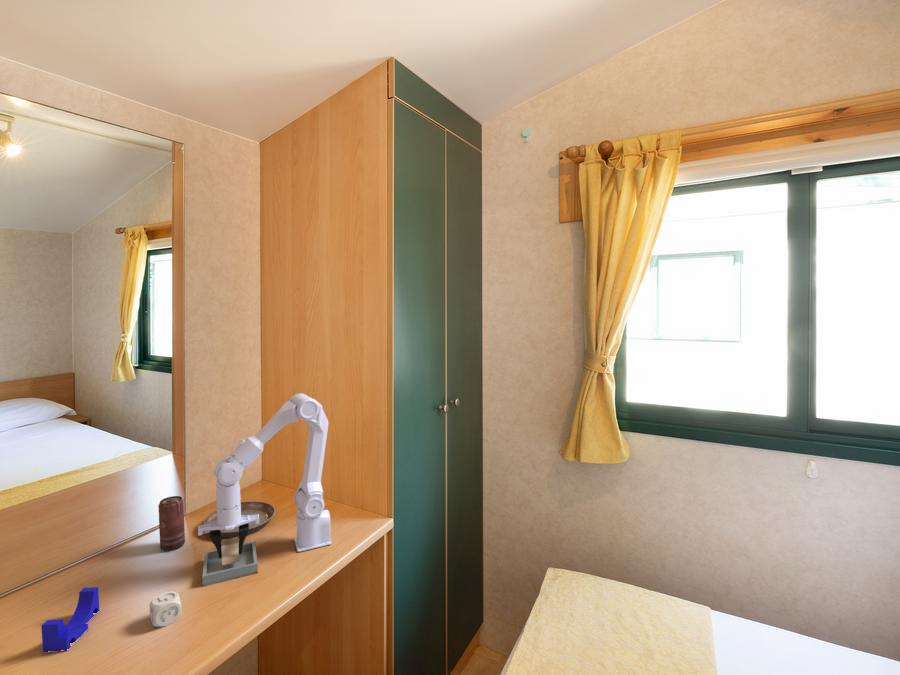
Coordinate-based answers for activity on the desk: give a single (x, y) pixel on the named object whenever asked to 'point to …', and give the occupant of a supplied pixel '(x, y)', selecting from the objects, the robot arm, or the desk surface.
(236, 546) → the block
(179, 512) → the can
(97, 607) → the blue curved piece
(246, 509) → the plant saucer
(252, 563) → the tray
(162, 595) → the die
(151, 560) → the desk surface
